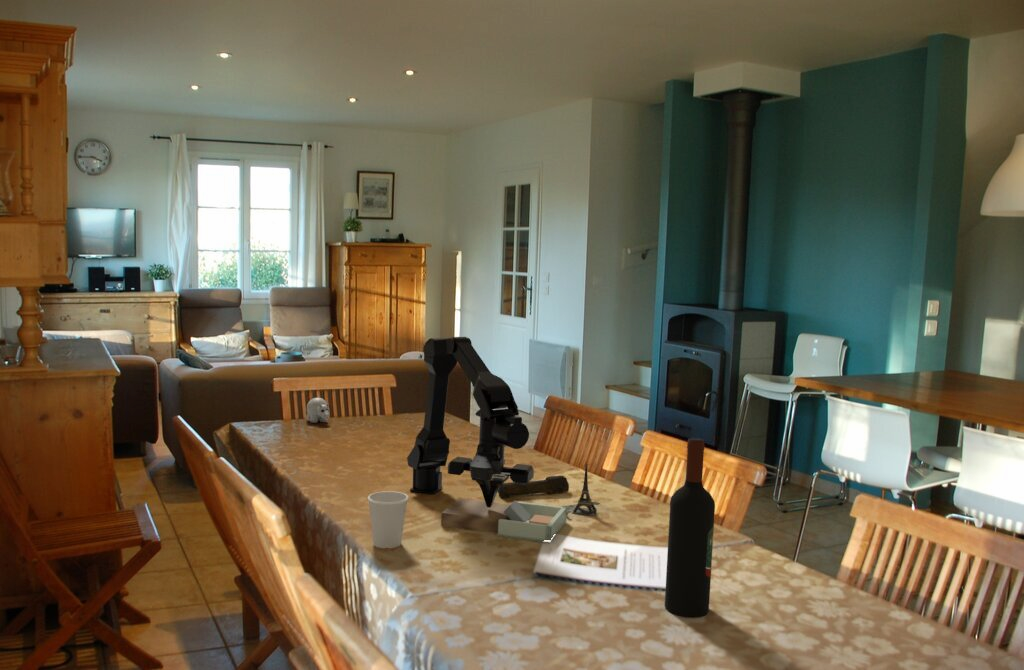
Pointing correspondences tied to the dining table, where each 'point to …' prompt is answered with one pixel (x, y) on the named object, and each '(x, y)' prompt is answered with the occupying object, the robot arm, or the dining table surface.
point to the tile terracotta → (540, 519)
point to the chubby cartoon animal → (317, 410)
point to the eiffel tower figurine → (583, 501)
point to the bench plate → (474, 515)
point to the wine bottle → (690, 541)
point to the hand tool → (535, 487)
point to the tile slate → (517, 512)
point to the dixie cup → (387, 517)
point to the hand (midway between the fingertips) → (489, 506)
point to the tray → (532, 529)
